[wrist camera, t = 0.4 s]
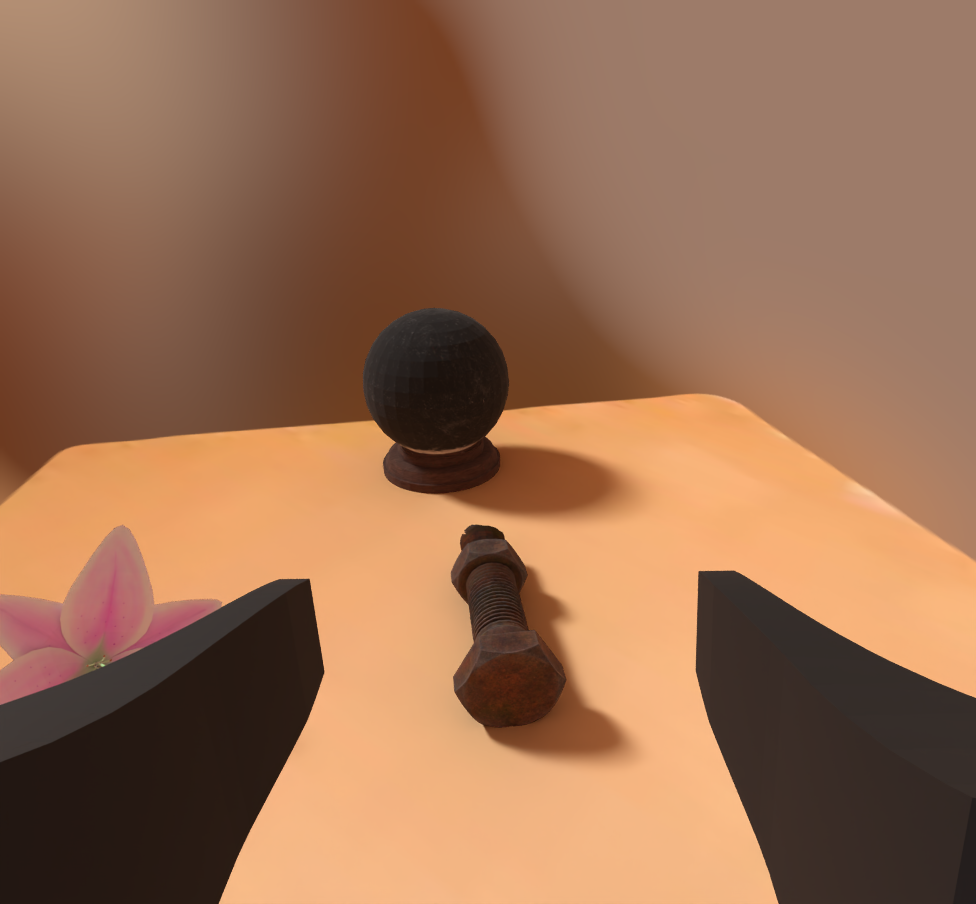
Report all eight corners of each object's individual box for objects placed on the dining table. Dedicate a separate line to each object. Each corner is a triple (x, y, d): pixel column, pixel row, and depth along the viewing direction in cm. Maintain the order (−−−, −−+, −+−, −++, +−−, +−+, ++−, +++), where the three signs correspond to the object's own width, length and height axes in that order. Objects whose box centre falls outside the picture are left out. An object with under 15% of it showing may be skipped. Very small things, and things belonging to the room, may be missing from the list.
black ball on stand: (485, 429, 68) (480, 289, 62) (531, 483, 57) (530, 318, 50) (364, 448, 65) (345, 302, 58) (386, 510, 53) (366, 337, 47)
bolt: (493, 580, 47) (527, 744, 34) (432, 557, 46) (442, 718, 32) (531, 519, 45) (582, 665, 32) (469, 493, 44) (495, 633, 30)
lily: (-71, 847, 29) (-115, 774, 23) (-2, 618, 37) (-22, 518, 31) (211, 810, 34) (235, 742, 28) (220, 616, 42) (241, 530, 36)
